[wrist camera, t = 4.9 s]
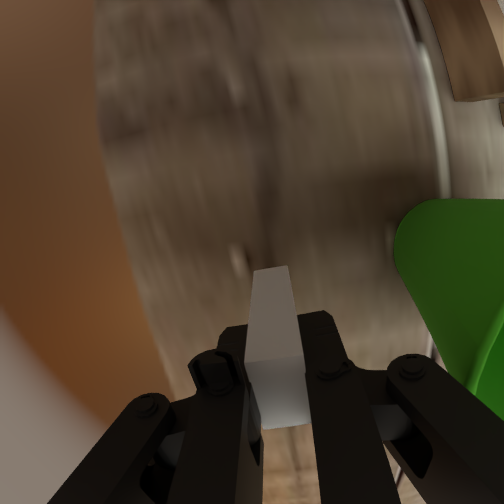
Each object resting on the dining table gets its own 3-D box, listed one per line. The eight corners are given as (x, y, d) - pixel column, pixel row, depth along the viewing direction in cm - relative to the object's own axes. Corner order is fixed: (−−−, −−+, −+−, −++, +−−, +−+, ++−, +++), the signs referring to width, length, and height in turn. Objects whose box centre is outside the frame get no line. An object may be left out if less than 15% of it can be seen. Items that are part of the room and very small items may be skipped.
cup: (466, 312, 17) (562, 414, 6) (346, 312, 17) (413, 471, 7) (494, 178, 14) (634, 219, 4) (368, 151, 14) (527, 159, 4)
